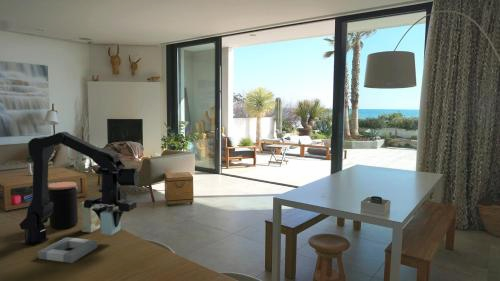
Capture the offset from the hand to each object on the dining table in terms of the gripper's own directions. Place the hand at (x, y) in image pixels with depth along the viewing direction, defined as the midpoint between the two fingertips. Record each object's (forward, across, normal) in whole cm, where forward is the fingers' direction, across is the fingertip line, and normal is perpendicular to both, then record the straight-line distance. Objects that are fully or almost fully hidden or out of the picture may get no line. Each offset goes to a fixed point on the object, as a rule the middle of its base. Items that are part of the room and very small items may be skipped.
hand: (110, 226), depth 131 cm
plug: (+2, 0, 0) cm, 2 cm away
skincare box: (+7, +16, -10) cm, 20 cm away
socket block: (+7, +9, +11) cm, 16 cm away
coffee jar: (+7, +30, -11) cm, 33 cm away
